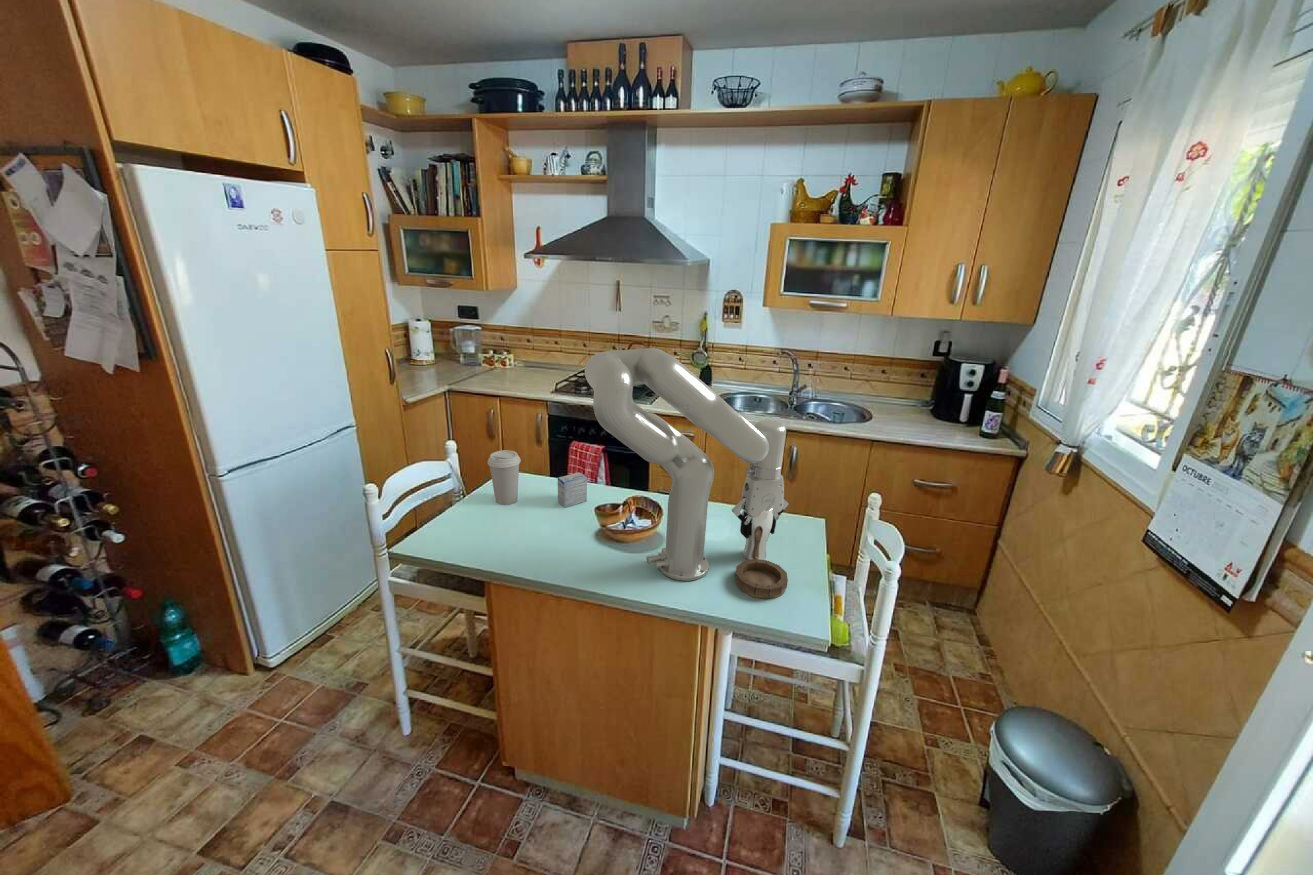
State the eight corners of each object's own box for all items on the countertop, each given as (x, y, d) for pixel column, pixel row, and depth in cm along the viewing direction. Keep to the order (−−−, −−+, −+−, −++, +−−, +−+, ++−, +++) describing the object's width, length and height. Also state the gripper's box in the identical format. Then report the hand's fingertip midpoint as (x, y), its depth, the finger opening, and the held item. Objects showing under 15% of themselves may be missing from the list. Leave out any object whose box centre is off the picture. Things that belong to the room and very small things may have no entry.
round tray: (751, 603, 117) (753, 593, 116) (726, 573, 127) (727, 563, 127) (796, 593, 121) (797, 583, 120) (768, 565, 132) (769, 555, 131)
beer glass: (767, 564, 132) (775, 512, 127) (740, 560, 133) (746, 508, 128) (767, 550, 138) (774, 500, 133) (741, 546, 140) (747, 496, 134)
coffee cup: (484, 500, 158) (480, 454, 153) (510, 490, 165) (508, 446, 160) (502, 510, 153) (499, 463, 148) (528, 500, 160) (526, 455, 155)
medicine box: (579, 496, 164) (579, 471, 161) (587, 501, 160) (587, 476, 157) (557, 503, 159) (557, 477, 156) (565, 508, 156) (564, 482, 153)
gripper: (742, 480, 121) (734, 546, 127) (803, 472, 127) (794, 535, 133) (726, 468, 128) (720, 531, 134) (786, 461, 134) (777, 521, 140)
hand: (757, 533), depth 133 cm, fingers closed on beer glass, 6 cm apart
